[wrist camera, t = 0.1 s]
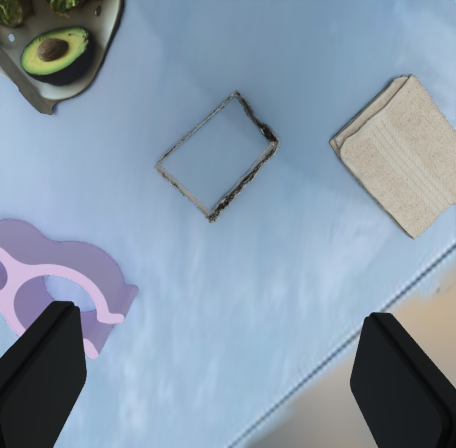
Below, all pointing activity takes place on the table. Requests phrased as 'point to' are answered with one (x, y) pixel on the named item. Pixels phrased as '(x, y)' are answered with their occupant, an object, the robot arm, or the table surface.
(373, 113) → the washcloth
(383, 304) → the table surface
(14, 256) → the pink desk organizer
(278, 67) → the table surface
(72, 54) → the salad plate
